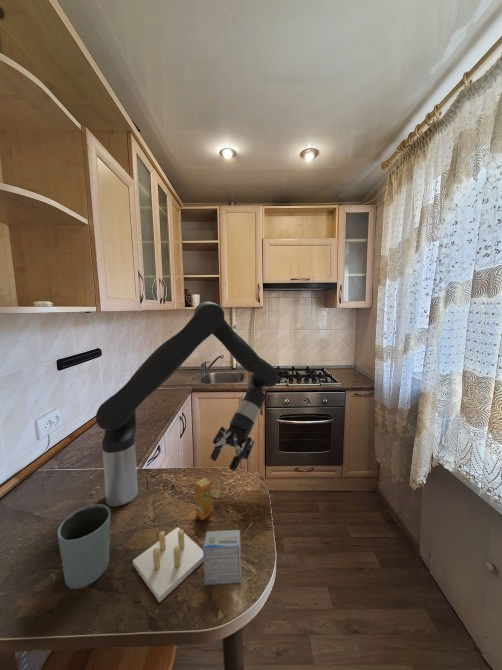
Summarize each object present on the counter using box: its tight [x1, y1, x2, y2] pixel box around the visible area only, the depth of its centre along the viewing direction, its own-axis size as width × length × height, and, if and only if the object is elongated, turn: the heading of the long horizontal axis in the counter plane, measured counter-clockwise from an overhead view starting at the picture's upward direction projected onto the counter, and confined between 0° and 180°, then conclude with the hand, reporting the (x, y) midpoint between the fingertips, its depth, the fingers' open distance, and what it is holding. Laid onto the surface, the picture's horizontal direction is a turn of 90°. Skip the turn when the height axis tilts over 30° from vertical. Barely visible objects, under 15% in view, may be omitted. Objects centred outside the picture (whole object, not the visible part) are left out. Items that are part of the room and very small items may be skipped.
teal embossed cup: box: [57, 503, 112, 590], centre depth 57 cm, size 10×10×12 cm
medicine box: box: [202, 529, 242, 586], centre depth 55 cm, size 8×4×9 cm, turn 92°
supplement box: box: [195, 477, 212, 521], centre depth 72 cm, size 3×3×10 cm
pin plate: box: [132, 526, 204, 603], centre depth 58 cm, size 12×12×5 cm
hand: (221, 464), depth 77 cm, fingers open, 8 cm apart
